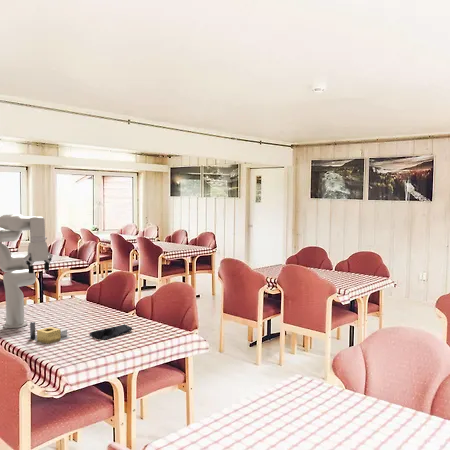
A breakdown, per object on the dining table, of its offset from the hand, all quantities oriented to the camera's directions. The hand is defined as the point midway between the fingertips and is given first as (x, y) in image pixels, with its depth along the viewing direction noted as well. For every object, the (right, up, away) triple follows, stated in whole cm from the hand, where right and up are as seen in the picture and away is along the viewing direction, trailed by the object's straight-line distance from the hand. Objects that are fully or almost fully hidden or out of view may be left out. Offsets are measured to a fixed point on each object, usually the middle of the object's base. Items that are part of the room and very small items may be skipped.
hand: (39, 271), depth 258 cm
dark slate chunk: (+38, -34, +4) cm, 51 cm away
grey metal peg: (+1, -33, -10) cm, 34 cm away
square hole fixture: (+8, -34, -9) cm, 37 cm away
